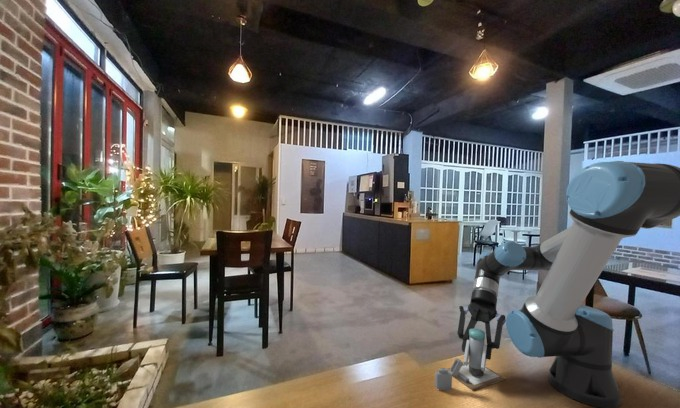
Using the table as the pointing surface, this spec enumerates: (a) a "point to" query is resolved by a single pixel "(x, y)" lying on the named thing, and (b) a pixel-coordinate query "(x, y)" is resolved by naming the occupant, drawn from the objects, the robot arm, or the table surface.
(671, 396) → the table surface
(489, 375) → the clipboard
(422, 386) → the table surface
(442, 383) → the lighter
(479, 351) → the grey teal cylinder
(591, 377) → the robot arm
